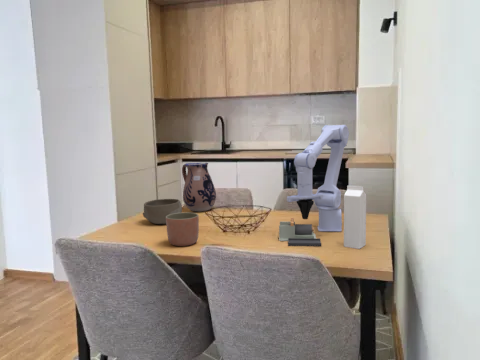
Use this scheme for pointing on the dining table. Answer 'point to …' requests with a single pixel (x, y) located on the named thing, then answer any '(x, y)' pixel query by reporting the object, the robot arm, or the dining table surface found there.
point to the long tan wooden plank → (292, 221)
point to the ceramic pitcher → (198, 187)
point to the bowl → (161, 209)
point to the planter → (182, 228)
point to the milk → (354, 217)
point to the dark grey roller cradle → (304, 242)
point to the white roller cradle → (290, 232)
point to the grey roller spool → (303, 229)
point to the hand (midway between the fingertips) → (305, 218)
